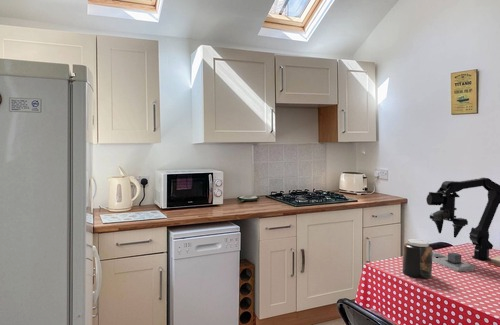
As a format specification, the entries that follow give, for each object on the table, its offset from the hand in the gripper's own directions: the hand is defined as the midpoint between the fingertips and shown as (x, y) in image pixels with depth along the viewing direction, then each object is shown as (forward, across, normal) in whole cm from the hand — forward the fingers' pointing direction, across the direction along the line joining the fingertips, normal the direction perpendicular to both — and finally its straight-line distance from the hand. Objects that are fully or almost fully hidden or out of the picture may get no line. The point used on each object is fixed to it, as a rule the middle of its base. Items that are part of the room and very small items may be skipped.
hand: (447, 235), depth 186 cm
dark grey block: (+12, +12, -8) cm, 18 cm away
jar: (+12, +16, -35) cm, 40 cm away
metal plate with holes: (+12, +7, -8) cm, 16 cm away
